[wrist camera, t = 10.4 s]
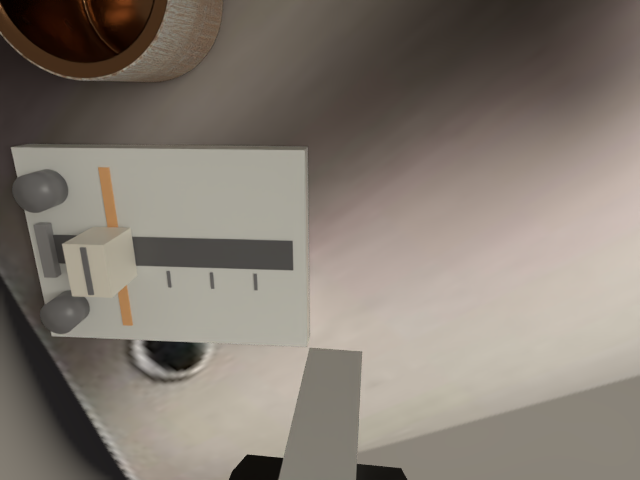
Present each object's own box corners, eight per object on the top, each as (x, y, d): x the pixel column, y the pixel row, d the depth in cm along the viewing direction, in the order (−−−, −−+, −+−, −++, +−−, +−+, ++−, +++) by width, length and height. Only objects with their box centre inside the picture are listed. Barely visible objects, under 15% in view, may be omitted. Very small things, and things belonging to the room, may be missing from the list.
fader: (93, 226, 36) (61, 244, 32) (130, 227, 36) (102, 245, 32) (101, 274, 37) (71, 296, 33) (137, 275, 37) (111, 298, 33)
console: (28, 143, 36) (-12, 151, 33) (307, 146, 35) (301, 154, 31) (65, 324, 42) (34, 350, 38) (309, 334, 40) (304, 362, 36)
